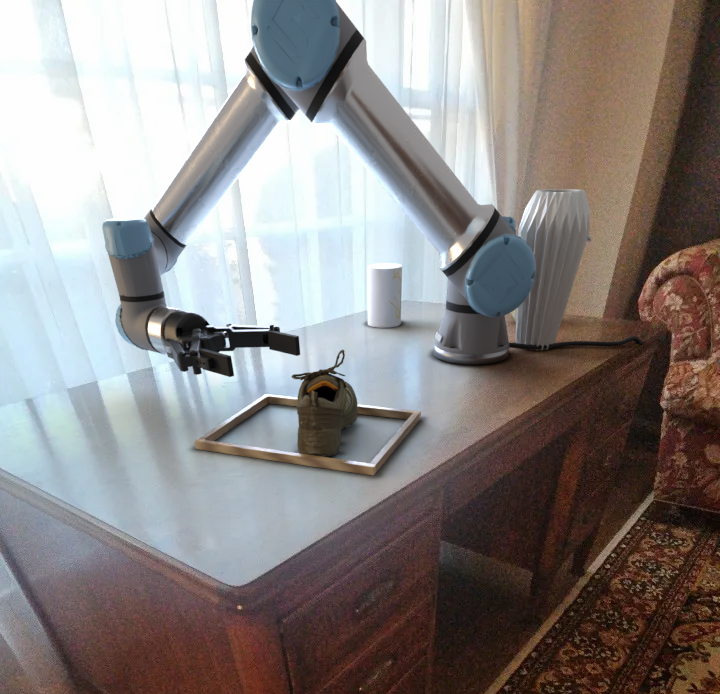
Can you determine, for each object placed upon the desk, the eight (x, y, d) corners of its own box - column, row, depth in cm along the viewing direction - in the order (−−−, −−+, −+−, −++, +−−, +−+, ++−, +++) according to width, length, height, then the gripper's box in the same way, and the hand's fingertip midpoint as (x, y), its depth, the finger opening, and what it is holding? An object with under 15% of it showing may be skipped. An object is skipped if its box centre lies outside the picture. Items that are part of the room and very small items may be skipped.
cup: (398, 328, 137) (399, 269, 129) (364, 327, 138) (364, 268, 130) (403, 320, 143) (404, 263, 135) (371, 319, 144) (370, 262, 136)
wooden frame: (420, 418, 92) (421, 411, 91) (373, 475, 76) (373, 467, 76) (266, 400, 100) (265, 393, 99) (195, 449, 84) (194, 441, 83)
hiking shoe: (362, 407, 94) (359, 326, 86) (342, 461, 80) (336, 371, 72) (311, 406, 95) (304, 326, 87) (282, 459, 81) (271, 370, 73)
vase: (577, 351, 119) (612, 191, 102) (517, 356, 117) (542, 193, 100) (549, 335, 129) (576, 187, 112) (493, 340, 127) (512, 189, 110)
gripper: (241, 343, 106) (324, 363, 96) (123, 376, 92) (204, 403, 82) (235, 297, 101) (321, 312, 91) (109, 325, 88) (192, 346, 77)
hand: (265, 355), depth 86 cm, fingers open, 13 cm apart
